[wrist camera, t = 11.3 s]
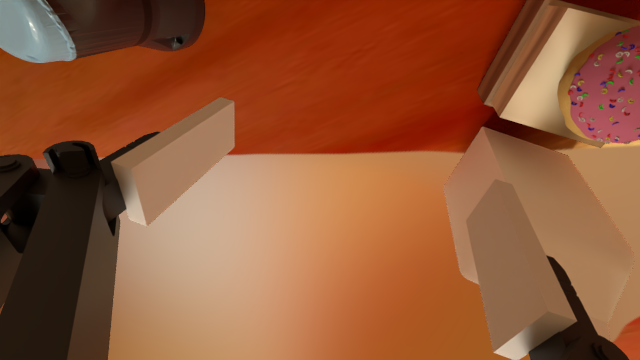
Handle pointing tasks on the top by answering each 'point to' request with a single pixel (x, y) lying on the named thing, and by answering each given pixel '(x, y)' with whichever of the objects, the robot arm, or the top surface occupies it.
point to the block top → (549, 68)
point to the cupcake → (604, 89)
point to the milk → (545, 217)
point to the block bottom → (518, 38)
